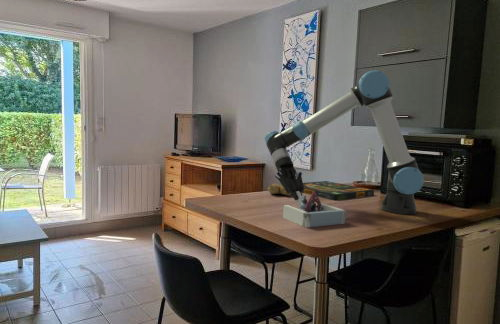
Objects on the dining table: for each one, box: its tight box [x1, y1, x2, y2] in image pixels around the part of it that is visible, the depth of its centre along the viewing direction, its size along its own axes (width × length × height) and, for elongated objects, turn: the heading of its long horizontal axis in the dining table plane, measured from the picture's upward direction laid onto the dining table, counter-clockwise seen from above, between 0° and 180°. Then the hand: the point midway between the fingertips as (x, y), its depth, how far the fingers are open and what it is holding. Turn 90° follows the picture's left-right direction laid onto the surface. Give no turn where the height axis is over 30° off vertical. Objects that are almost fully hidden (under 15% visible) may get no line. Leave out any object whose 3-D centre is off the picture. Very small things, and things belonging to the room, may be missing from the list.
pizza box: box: [301, 180, 375, 201], centre depth 216 cm, size 35×35×4 cm
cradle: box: [282, 202, 347, 228], centre depth 147 cm, size 15×19×5 cm
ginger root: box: [267, 182, 291, 197], centre depth 201 cm, size 16×16×8 cm
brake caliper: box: [300, 192, 325, 212], centre depth 151 cm, size 11×11×12 cm
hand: (302, 206), depth 154 cm, fingers closed
